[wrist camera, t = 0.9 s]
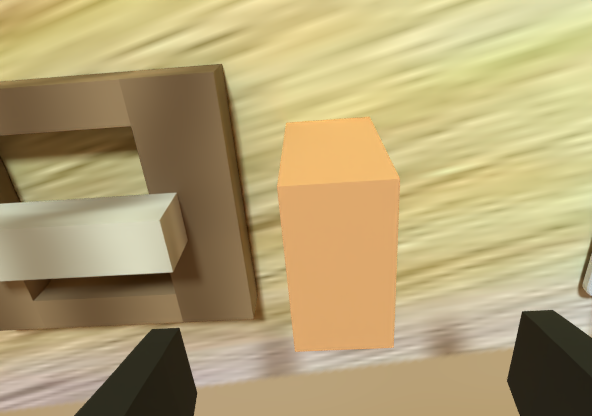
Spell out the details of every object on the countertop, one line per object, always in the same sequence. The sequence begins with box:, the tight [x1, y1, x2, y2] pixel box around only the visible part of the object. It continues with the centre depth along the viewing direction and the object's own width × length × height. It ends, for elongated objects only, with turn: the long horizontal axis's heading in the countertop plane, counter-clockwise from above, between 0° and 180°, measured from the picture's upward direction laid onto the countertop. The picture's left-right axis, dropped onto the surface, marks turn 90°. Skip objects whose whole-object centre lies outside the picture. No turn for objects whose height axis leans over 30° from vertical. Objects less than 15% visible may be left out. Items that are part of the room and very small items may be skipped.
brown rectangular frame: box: [0, 64, 257, 331], centre depth 15 cm, size 12×10×4 cm
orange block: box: [277, 117, 400, 352], centre depth 14 cm, size 3×6×6 cm, turn 4°
